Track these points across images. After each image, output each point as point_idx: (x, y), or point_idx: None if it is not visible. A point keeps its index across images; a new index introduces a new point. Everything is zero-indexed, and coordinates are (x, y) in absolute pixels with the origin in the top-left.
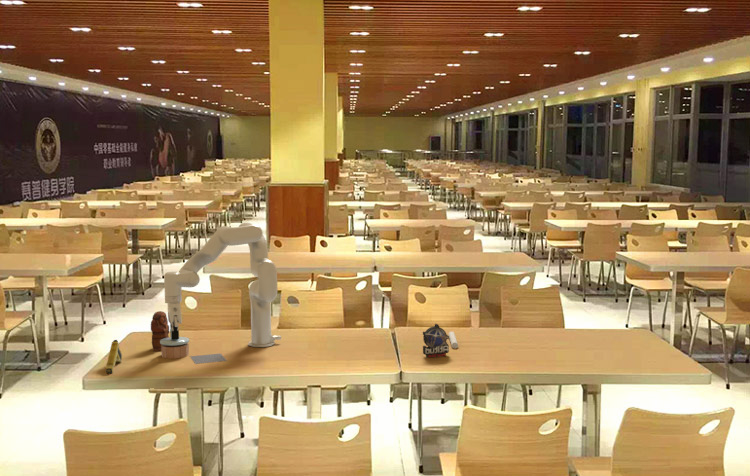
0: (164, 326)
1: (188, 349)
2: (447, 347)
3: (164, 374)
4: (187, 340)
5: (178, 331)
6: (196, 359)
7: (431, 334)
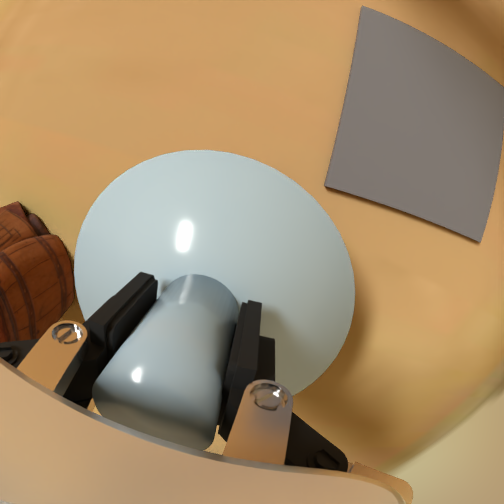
0: None
1: None
2: None
3: (471, 385)
4: (312, 206)
5: (256, 363)
6: (421, 191)
7: None
